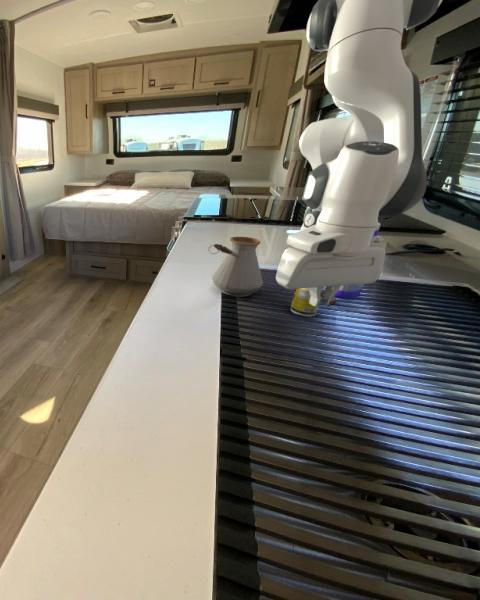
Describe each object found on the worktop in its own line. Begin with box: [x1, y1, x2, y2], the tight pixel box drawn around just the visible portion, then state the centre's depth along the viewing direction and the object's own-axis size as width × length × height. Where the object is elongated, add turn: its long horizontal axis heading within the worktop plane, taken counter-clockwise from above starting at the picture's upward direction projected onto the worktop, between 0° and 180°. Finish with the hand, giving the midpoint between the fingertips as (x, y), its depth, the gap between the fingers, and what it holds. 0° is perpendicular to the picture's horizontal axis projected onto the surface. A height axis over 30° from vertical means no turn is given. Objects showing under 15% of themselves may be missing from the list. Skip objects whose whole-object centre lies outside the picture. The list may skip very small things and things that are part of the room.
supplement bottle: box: [290, 288, 325, 318], centre depth 70 cm, size 5×5×8 cm
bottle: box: [334, 222, 382, 300], centre depth 76 cm, size 7×6×17 cm
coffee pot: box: [208, 236, 264, 298], centre depth 76 cm, size 21×12×15 cm, turn 132°
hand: (318, 304), depth 67 cm, fingers closed, pressing on supplement bottle
